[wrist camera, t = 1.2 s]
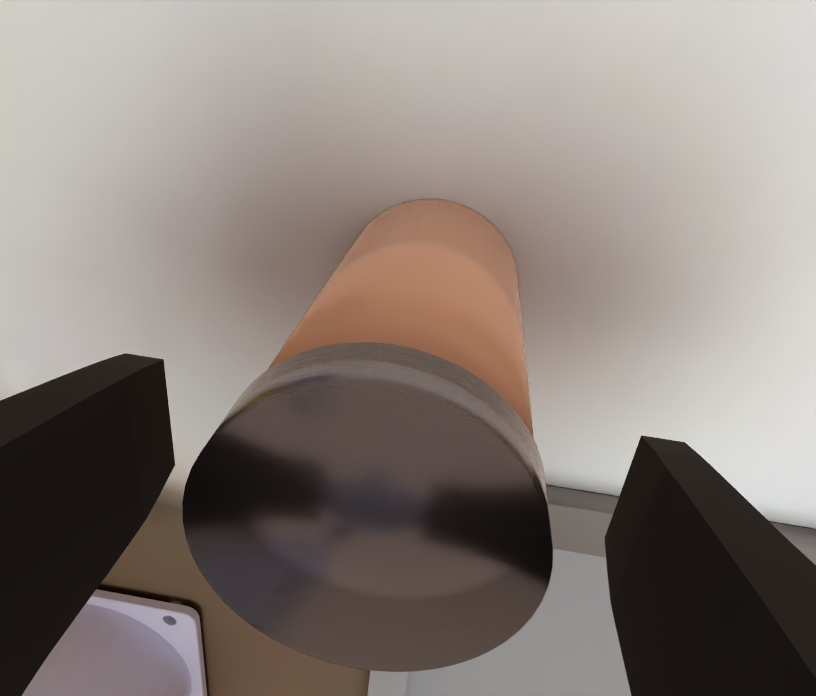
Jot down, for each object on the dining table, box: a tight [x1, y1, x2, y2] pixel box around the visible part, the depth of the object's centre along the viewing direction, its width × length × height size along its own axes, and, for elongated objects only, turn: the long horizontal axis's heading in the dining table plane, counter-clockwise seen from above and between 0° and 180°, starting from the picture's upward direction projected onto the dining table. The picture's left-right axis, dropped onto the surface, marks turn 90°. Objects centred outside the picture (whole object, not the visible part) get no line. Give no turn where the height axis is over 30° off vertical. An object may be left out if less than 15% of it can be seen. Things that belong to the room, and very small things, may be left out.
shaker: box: [183, 199, 553, 672], centre depth 11 cm, size 5×5×9 cm
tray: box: [368, 485, 816, 696], centre depth 20 cm, size 14×14×2 cm
